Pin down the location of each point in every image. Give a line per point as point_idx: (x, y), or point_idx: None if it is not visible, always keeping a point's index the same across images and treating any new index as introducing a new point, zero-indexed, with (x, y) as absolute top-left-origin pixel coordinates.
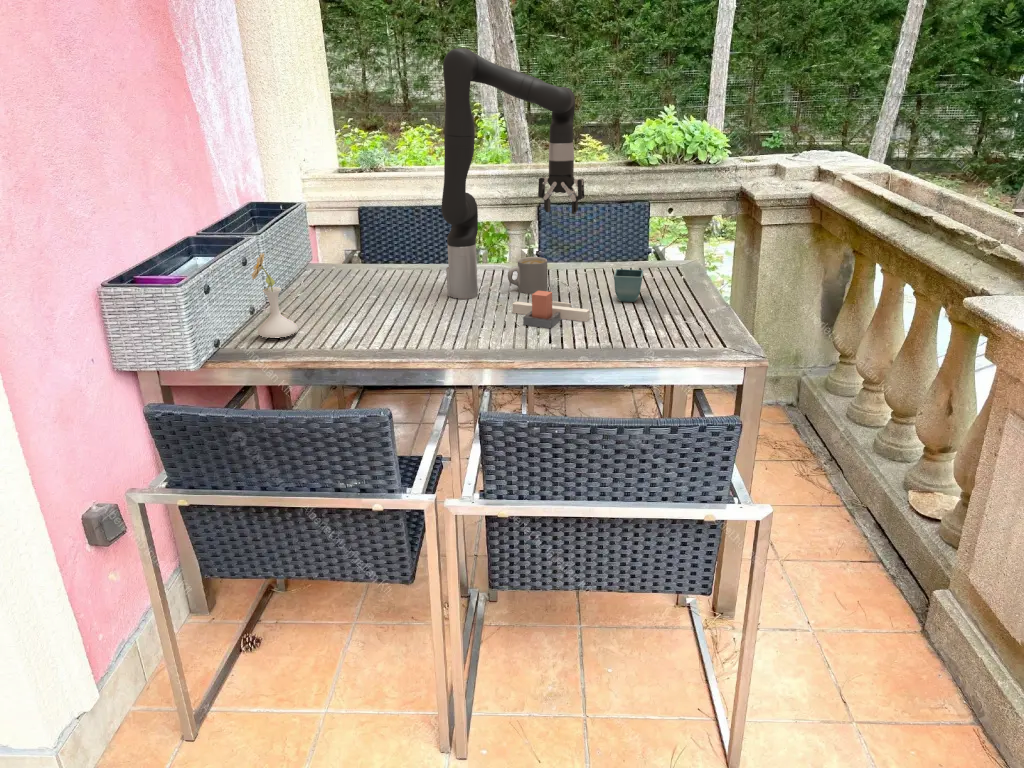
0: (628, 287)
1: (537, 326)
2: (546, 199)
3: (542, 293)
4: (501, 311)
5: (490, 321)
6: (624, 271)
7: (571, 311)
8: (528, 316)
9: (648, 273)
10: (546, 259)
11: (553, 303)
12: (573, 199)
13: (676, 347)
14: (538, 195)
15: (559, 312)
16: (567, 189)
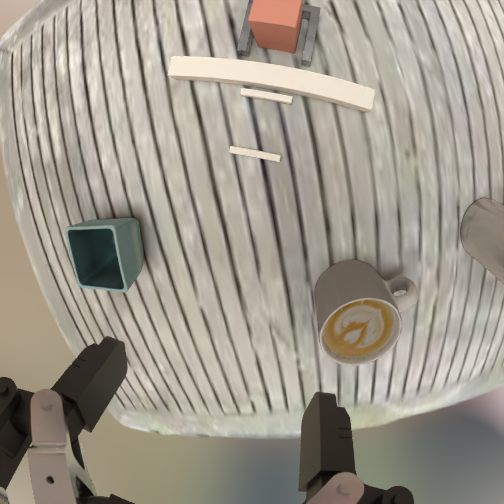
0: (101, 220)
1: None
2: (333, 476)
3: (274, 3)
4: (396, 106)
5: (398, 38)
6: (112, 286)
7: (209, 58)
8: (308, 11)
9: (146, 388)
10: (322, 348)
11: (277, 154)
12: (47, 402)
13: (52, 19)
14: (410, 498)
15: (238, 48)
16: (48, 499)
